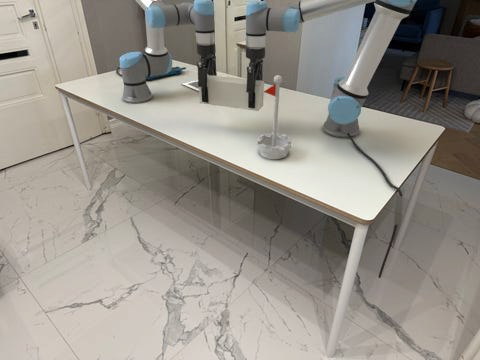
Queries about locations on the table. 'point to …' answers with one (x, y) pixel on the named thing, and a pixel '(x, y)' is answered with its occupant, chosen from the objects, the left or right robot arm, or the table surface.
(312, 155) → the table surface
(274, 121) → the flag stand
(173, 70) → the submachine gun
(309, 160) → the table surface
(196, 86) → the tablet
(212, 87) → the box
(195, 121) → the table surface
